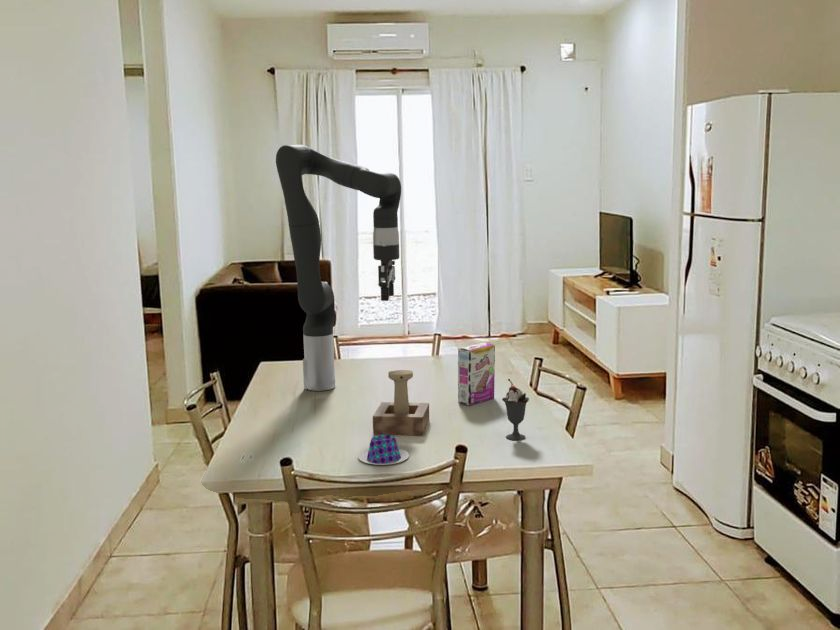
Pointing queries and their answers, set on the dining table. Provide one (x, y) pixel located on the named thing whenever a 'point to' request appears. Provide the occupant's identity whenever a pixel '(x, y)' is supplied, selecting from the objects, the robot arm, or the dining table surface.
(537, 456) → the dining table surface
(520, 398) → the sundae
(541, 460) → the dining table surface
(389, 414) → the collar block
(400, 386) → the handle
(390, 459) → the pudding
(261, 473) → the dining table surface
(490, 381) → the candy bar box
